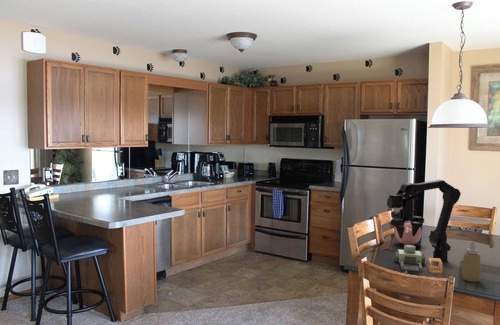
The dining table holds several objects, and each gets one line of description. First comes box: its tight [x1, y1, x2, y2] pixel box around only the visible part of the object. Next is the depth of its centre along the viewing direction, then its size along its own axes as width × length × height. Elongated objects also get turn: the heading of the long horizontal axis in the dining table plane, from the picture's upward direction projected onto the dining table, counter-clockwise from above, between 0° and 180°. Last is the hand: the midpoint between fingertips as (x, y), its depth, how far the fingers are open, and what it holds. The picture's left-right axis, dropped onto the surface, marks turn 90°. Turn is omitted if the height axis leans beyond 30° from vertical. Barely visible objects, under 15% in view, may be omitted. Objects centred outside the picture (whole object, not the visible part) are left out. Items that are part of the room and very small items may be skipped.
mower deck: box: [394, 244, 426, 266], centre depth 222 cm, size 14×9×8 cm, turn 73°
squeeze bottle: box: [461, 240, 482, 283], centre depth 194 cm, size 8×8×18 cm
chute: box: [427, 257, 444, 275], centre depth 209 cm, size 6×9×5 cm, turn 163°
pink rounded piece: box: [394, 222, 423, 246], centre depth 256 cm, size 15×20×15 cm
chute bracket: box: [399, 260, 423, 273], centre depth 212 cm, size 10×11×2 cm
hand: (407, 237), depth 221 cm, fingers open, 9 cm apart
